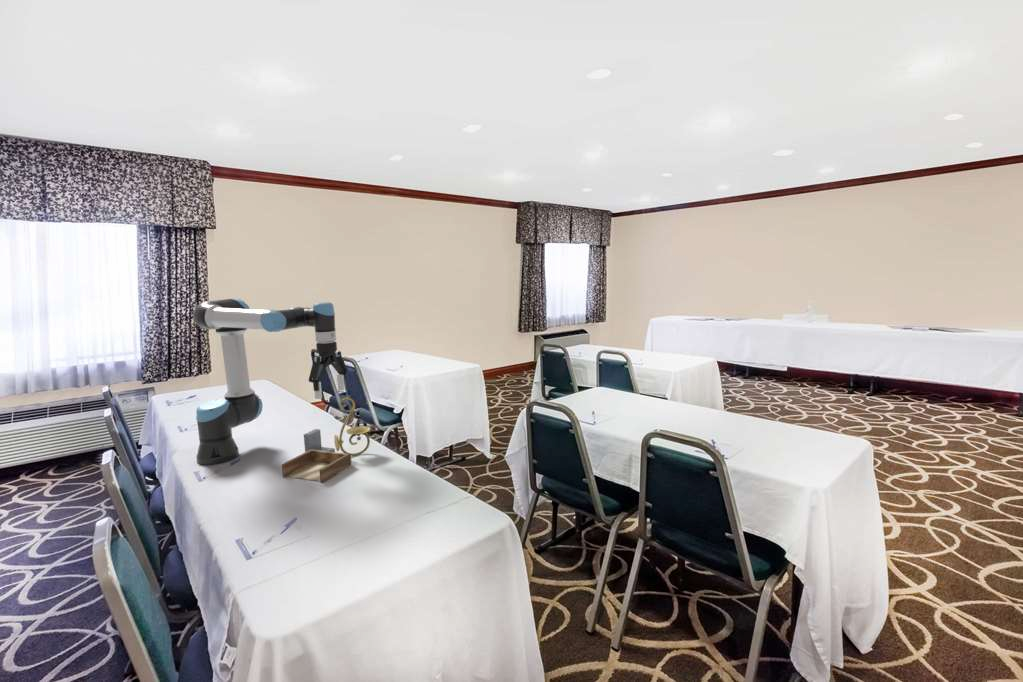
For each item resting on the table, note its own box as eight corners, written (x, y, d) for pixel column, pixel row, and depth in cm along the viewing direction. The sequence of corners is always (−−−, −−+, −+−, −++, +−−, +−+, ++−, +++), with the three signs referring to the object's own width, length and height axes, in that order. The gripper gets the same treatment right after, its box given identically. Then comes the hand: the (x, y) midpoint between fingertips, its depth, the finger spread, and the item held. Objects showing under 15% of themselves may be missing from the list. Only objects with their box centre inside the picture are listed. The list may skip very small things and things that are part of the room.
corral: (282, 477, 187) (281, 464, 186) (313, 460, 202) (312, 448, 201) (323, 483, 181) (322, 470, 180) (351, 465, 196) (350, 453, 195)
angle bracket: (305, 457, 205) (303, 434, 204) (317, 451, 212) (315, 428, 210) (323, 460, 202) (321, 436, 201) (335, 453, 209) (333, 430, 207)
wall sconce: (340, 463, 199) (335, 402, 195) (335, 455, 207) (330, 397, 203) (374, 455, 206) (370, 396, 202) (368, 448, 214) (364, 392, 210)
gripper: (311, 347, 184) (316, 403, 187) (354, 337, 207) (357, 387, 210) (295, 346, 186) (300, 401, 189) (338, 336, 209) (342, 386, 213)
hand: (330, 394), depth 200 cm, fingers open, 13 cm apart
